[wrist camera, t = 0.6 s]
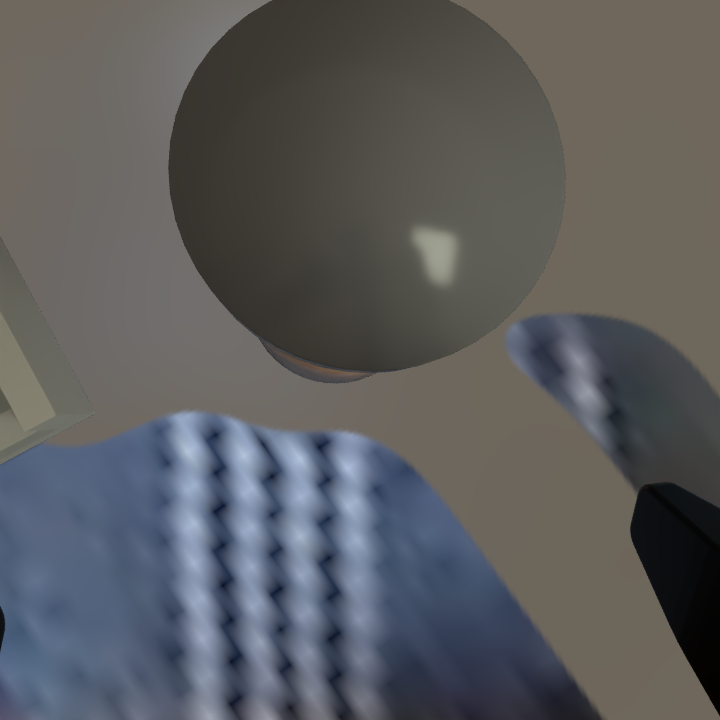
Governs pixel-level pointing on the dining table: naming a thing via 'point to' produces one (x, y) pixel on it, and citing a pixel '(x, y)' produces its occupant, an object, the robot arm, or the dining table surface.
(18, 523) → the dining table surface
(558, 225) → the grey brown rounded piece
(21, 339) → the pusher lane
